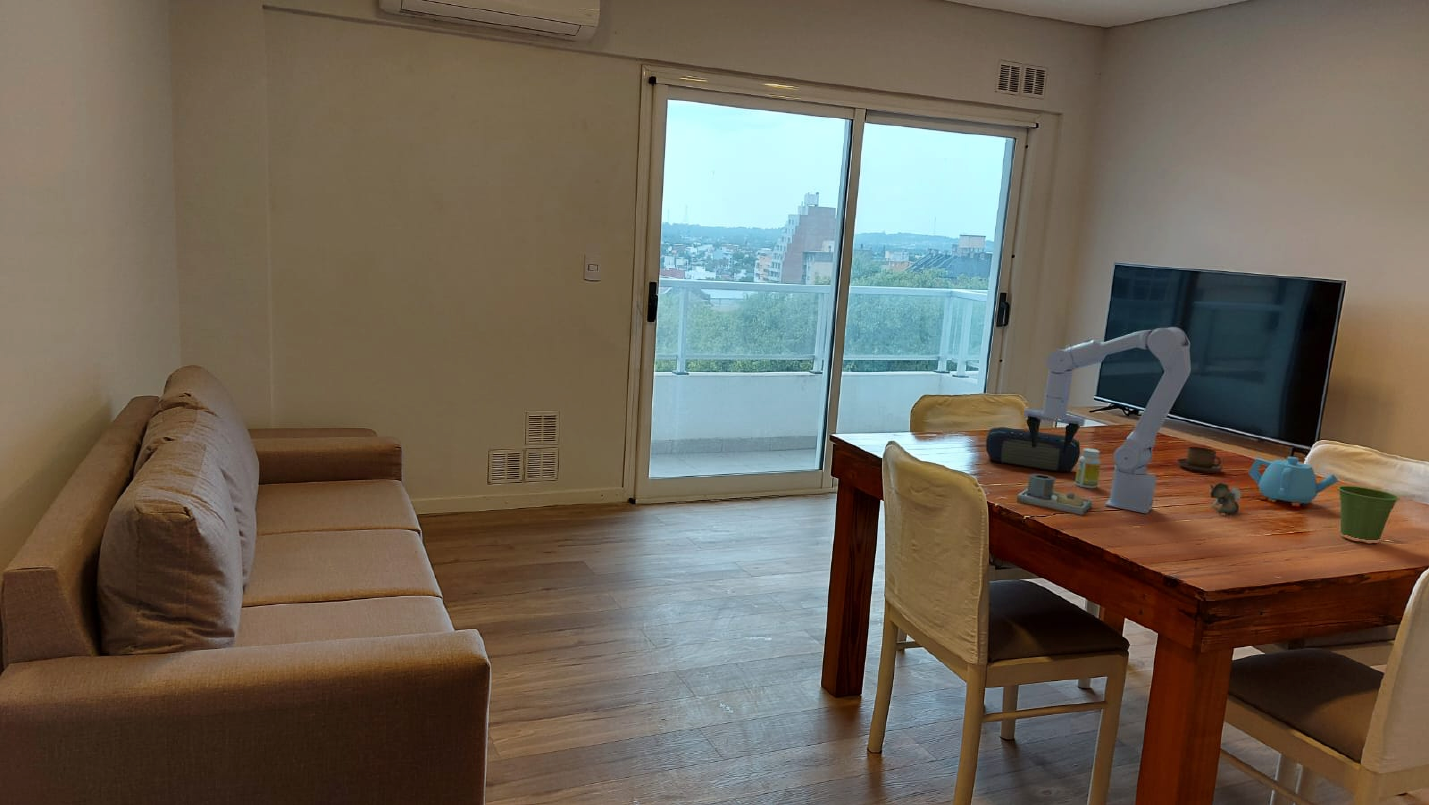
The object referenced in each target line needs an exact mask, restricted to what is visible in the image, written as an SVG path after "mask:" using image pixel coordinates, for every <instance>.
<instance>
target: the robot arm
mask: <svg viewBox="0 0 1429 805" xmlns="http://www.w3.org/2000/svg"><path fill="white" fill-rule="evenodd" d="M1083 341H1084V342H1081V343H1079V344H1074V345H1071V344H1068V345H1065V348H1063V349H1060V348H1057V349H1054V350H1052V351H1050V352H1049V353H1048V355H1047V357H1046V359H1045V360H1046V361H1045V364H1046V367H1047V368H1048V372H1047V378H1046V386H1045V394H1044V399H1043V408H1042V410H1038V409H1037V410H1036V409H1028V408H1025V409H1024V411H1023V418H1027V420H1026V425H1027V428H1028V431H1030V434H1031V440H1032V447H1034V448H1035V447H1036V446H1037V440H1038V432H1039V430H1040V427H1041V426H1040V424H1041V421H1048V422H1053V423H1061V424H1066V425H1065V435H1064V436H1065V442H1064V447H1063V453H1067V451H1068V448H1069V445H1070V443H1071V441H1072V439H1074V437H1075V435H1076V433H1078V431H1079V429H1080V428H1081V427H1082V428H1083V427H1084V426H1085V423H1086V422H1085V421H1086V417H1080V416H1075V415H1071V414H1068V406H1069V398H1070V393H1071V384H1072V377H1073V376H1072V375H1073V371H1074V370H1075V369H1081V368H1084V367H1088V366H1091V365H1096V364H1100V363H1102V362H1103V361H1104V360H1105V358H1106V356H1108V355H1111V354H1114V353H1115V354H1116V353H1121V352H1123V351H1128V350H1130V349H1131V350H1132V349H1135V348H1138V349H1142V350H1149V351H1150V352H1151V353H1152V354H1153V355H1154V357H1156V358H1157V359H1158V360H1159V362H1160V364H1161V366H1162V369H1163V374H1162V376H1161V378H1160V380H1159V382H1158V384H1157V385H1156V387H1155V389H1154V391H1153V393H1152V395H1151V397H1150V399H1149V400H1148V402H1147V404H1146V406H1145V408H1144V410H1143V412H1142V413H1141V416H1140V418H1139V420H1138V421H1137V423H1136V425H1135V427H1134V429H1133V430H1132V432H1131V433H1130V434H1129V435H1128V436H1127V438H1126V439H1125V441H1124V442H1123V444H1122V445H1120V446H1119V447H1117V448H1116V449H1115V450H1114V453H1113V455H1112V456H1113V458H1112V460H1113V463H1114V464H1115V465H1114V470H1113V476H1112V483H1111V490H1110V497H1109V499H1108V500H1106V502H1105V503H1104V505H1105V506H1107V507H1112V508H1117V509H1120V510H1121V509H1122V510H1128V511H1131V512H1138V513H1143V514H1148V513H1149V512H1150V510H1151V509H1152V508H1153V504H1154V496H1155V495H1154V494H1155V488H1156V482H1157V481H1156V480H1157V475H1155V474H1151V473H1148V468H1147V465H1148V464H1149V463H1150V462H1151V461H1152V458H1153V449H1154V446H1155V445H1156V437H1157V435H1158V434H1159V431H1160V430H1161V428H1162V426H1163V425H1164V422H1165V420H1166V418H1167V417H1168V415H1169V413H1170V411H1171V409H1172V407H1173V405H1174V404H1175V402H1176V400H1177V398H1178V396H1179V394H1180V393H1181V390H1182V389H1183V387H1184V385H1185V383H1186V382H1187V379H1188V378H1189V376H1190V374H1191V371H1192V366H1191V354H1190V350H1191V349H1190V348H1191V342H1190V339H1188V336H1187V334H1186V333H1185V331H1184V330H1182V328H1179V327H1176V326H1169V327H1158V328H1155V329H1146V330H1145V329H1144V330H1139V331H1134V332H1131V333H1129V334H1125V335H1122V336H1120V337H1116V338H1113V339H1110V340H1108V341H1104V342H1101V341H1099V340H1098V339H1091V338H1087V339H1084V340H1083Z"/></svg>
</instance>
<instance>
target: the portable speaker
mask: <svg viewBox="0 0 1429 805" xmlns="http://www.w3.org/2000/svg"><path fill="white" fill-rule="evenodd" d="M1064 442H1065V435H1062V434H1054V433H1049V432H1048V433H1047V432H1041V431H1040V432H1039V431H1038V440H1037V446H1036V447H1035V448H1034V447H1032V440H1031V434H1030V430H1026V429H1020V428H1019V429H1018V428H1012V427H1006V426H1001V427H999V426H998V427H992V428H990V429H989V433H988V434H987V435H986V440H985V451H986V452H987V455H988V458H989V459H990V460H992V461H993V462H997V463H1002V464H1009V465H1013V466H1022V467H1027V468H1034V469H1041V470H1047V471H1051V472H1052V471H1053V472H1060V473H1066V472H1071V471H1073V468H1075V466H1076V465H1077V464H1078V461H1079V458H1080V455H1081V448H1080V442H1079V441H1078V440H1077V439H1075V438H1073V439H1072V441H1071V443H1070V445H1069V448H1068V451H1067V453H1063V447H1064Z"/></svg>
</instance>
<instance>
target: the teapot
mask: <svg viewBox="0 0 1429 805" xmlns="http://www.w3.org/2000/svg"><path fill="white" fill-rule="evenodd" d="M1299 460H1300V458H1298V457H1295V456H1287V458H1286V459H1285V460H1284V459H1275V460H1272V461H1269V460H1266V459H1262V458H1260V457H1255V460H1254V462H1253V463H1252V465H1251V467H1250V470H1249V471H1248V473H1247V474H1248V475H1249V476H1250V477H1251V478H1252V479H1253V480H1254V481H1255V483H1256V484H1258V489H1259V492H1260V493H1261V495H1262V496H1265V497H1267V498H1268V499H1271V500H1277V501H1278V500H1280V501H1285V502H1290V503H1291V502H1293V503H1300V504H1302V503H1304V504H1310V503H1311V502H1312V501H1313V500H1314V499H1315V498H1316V497H1317V496H1318V495H1317V494H1319V493H1321V492H1322V491H1324V490H1326V489H1329V487H1331V486H1333V485H1335V484H1337V483H1338V482H1339V479H1338V478H1337V477H1336V476H1335V475H1334V474H1331V475H1328V476H1326V477H1325V478H1324V479H1323V480H1321V481H1319V482H1318V481H1317V477H1316V474H1315V471H1314V469H1313V467H1312V465H1311V464H1310V465H1309V464H1306V463H1303V462H1300V461H1299ZM1261 465H1263V466H1265V467H1266V469H1265V470H1264V471H1263V473H1262V474H1261V473H1260V472H1259V470H1260V467H1261ZM1317 482H1318V483H1317Z"/></svg>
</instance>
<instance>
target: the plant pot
mask: <svg viewBox="0 0 1429 805" xmlns="http://www.w3.org/2000/svg"><path fill="white" fill-rule="evenodd" d="M1336 489H1337V490H1338V491H1339V500H1340V534H1341V533H1342V534H1343V535H1348V536H1351V537H1354V538H1359V539H1365V540H1378V539H1379V540H1380V539H1381V538H1382V537H1381V536H1382V535H1383V532H1384V529H1385V527H1386V524H1387V521H1388V519H1389V516H1390V514H1391V512H1392V510H1393V509H1394V507H1395V505H1396V503H1397V501H1399V500H1400V499H1401V498H1400V496H1399V495H1396V494H1394V493H1391V492H1387V491H1385V490H1384V491H1383V490H1378V489H1374V488H1368V487H1363V486H1362V487H1361V486H1353V485H1338V486H1337V488H1336Z"/></svg>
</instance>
